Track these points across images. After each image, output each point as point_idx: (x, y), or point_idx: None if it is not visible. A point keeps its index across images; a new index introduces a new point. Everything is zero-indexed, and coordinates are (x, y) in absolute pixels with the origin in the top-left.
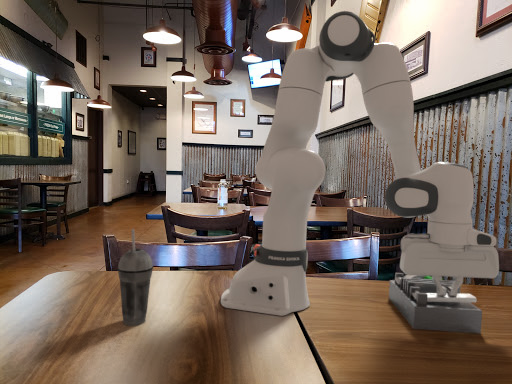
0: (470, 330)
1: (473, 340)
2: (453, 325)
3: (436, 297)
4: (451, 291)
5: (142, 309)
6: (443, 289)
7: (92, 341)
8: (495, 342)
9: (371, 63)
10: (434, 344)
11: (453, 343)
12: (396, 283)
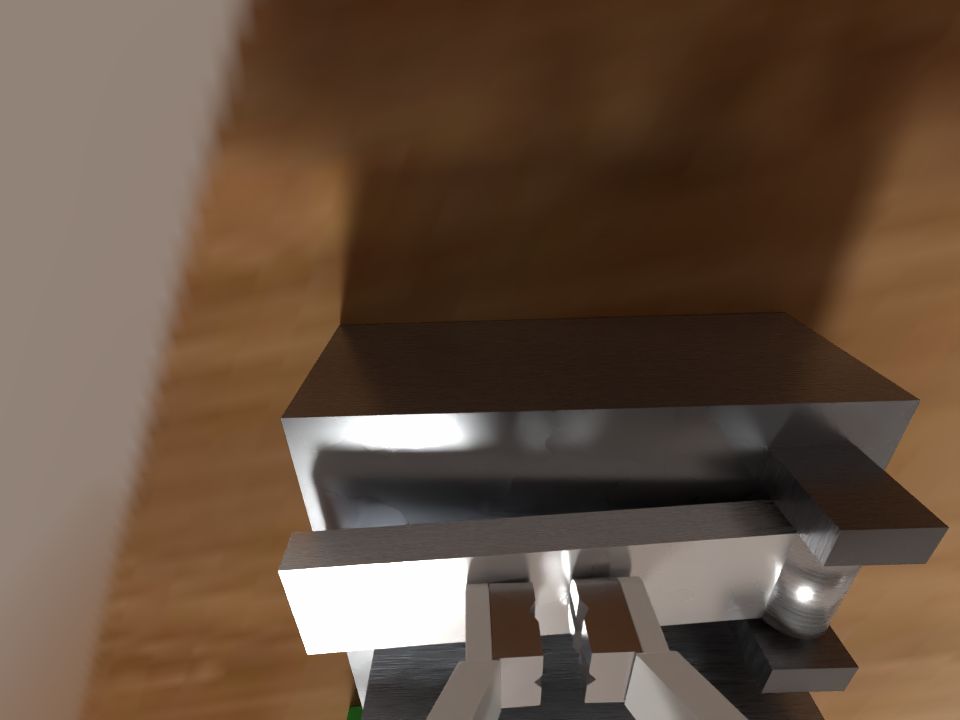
0: (404, 329)
1: (433, 197)
2: (524, 338)
3: (677, 541)
4: (528, 624)
5: None
6: (623, 639)
7: None
8: (280, 195)
9: None
10: (793, 42)
11: (618, 101)
12: None
